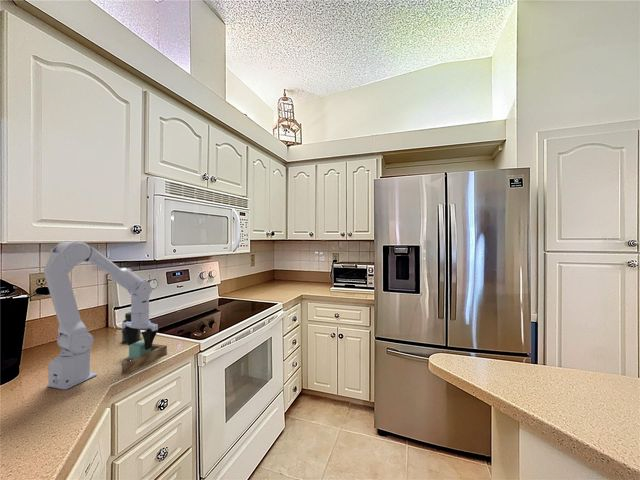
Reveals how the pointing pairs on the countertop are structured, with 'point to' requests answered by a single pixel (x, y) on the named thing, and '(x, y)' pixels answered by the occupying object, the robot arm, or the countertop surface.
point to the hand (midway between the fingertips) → (140, 347)
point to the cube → (137, 349)
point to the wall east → (155, 346)
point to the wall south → (142, 360)
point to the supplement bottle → (128, 318)
